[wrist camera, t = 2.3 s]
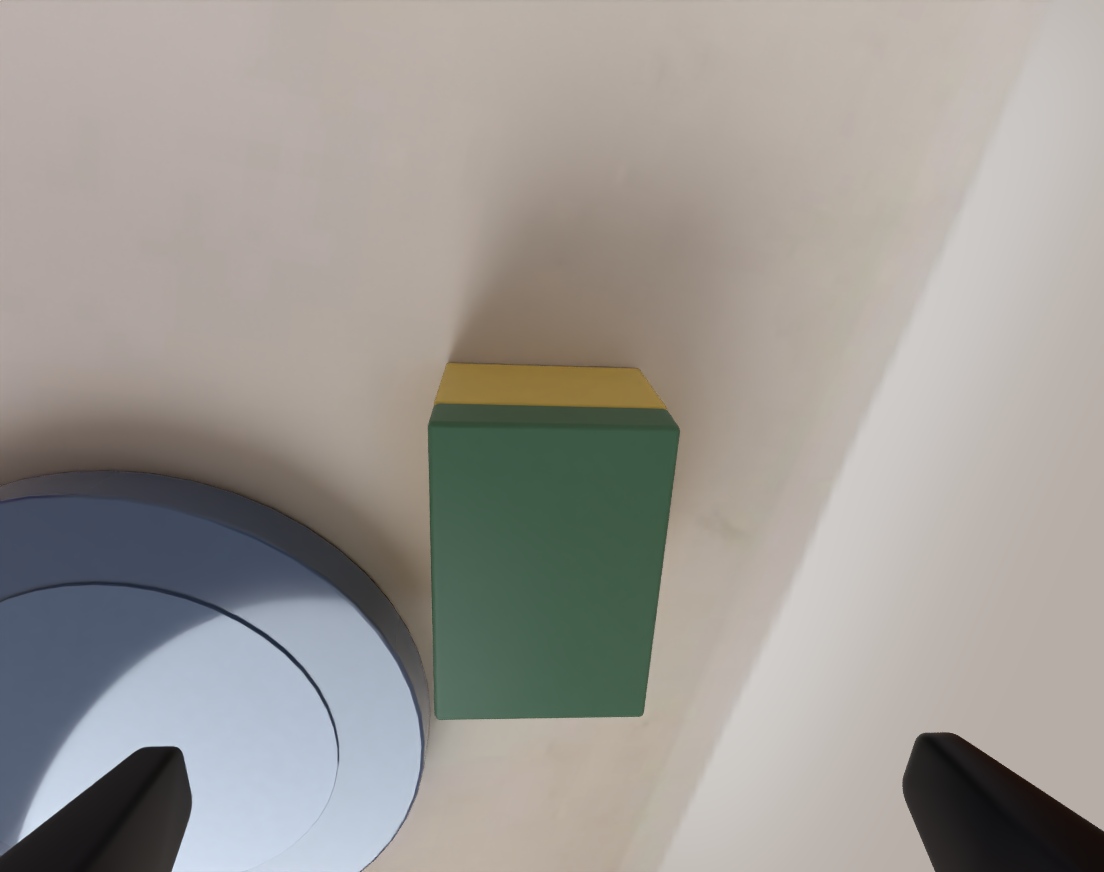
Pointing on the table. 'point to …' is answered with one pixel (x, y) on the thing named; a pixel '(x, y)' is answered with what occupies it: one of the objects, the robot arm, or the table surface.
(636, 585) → the sponge
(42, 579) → the plate
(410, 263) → the table surface
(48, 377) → the table surface
